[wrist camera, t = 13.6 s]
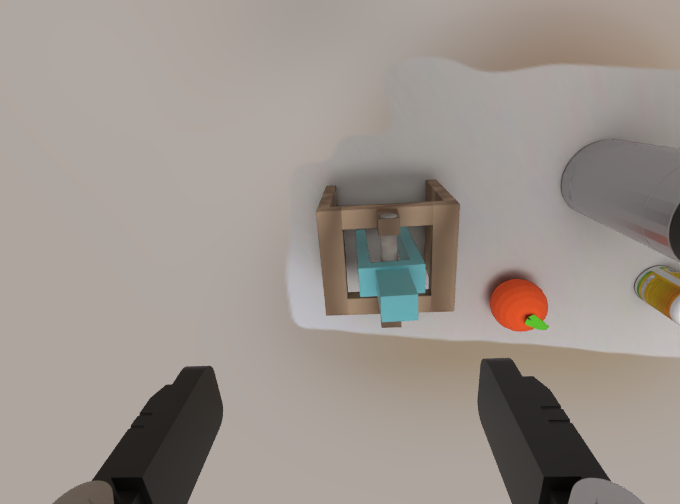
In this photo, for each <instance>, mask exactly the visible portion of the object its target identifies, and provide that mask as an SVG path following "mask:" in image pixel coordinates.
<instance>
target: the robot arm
mask: <svg viewBox="0 0 680 504" xmlns="http://www.w3.org/2000/svg"><path fill="white" fill-rule="evenodd" d="M561 189H562V194H563V197H564V199H565V201H566V202H567V204H568V205H569V206H570V207H571V208H573V209H574V210H576V211H578V212H580V213H582V214H584V215H586V216H588V217H590V218H592V219H593V220H595V221H597V222H599V223H601V224H603V225H605V226H607V227H609V228H611V229H613V230H615V231H618V232H620V233H622V234H624V235H626V236H628V237H630V238H632V239H634V240H636V241H638V242H640V243H642V244H644V245H646V246H648V247H650V248H652V249H654V250H656V251H658V252H660V253H662V254H664V255H666V256H668V257H670V258H672V259H674V260H676V261H678V262H680V149H676V148H669V147H662V146H655V145H648V144H642V143H635V142H628V141H621V140H613V139H612V140H602V141H598V142H595V143H593V144H591V145H588V146H587V147H585V148H584V149H582V150H581V151H579V152H578V153H577V154H576V155H575V156H574V157H573V158H572V160H571V161H570V162H569V164H568V165H567V167H566V169H565V171H564V174H563V178H562V185H561ZM478 411H479V416H480V420H481V423H482V426H483V429H484V431H485V434H486V436H487V439H488V442H489V444H490V447H491V449H492V452H493V455H494V457H495V460H496V463H497V465H498V468H499V471H500V473H501V476H502V478H503V481H504V484H505V486H506V488H507V492H508V494H509V497H510V499H511V502H512V504H644V503H643V502H642V501H641V500H640V499H639V498H638V497H636V496H635V495H634V494H633V493H631V492H630V491H628V490H626V489H625V488H623V487H622V486H620V485H618V484H615V483H613V482H611V480H610V479H609V478H608V476H607V475H606V473H605V472H604V470H603V469H602V467H601V466H600V464H599V463H598V462H597V460H596V458H595V457H594V455H593V454H592V452H591V451H590V449H589V448H588V446H587V445H586V443H585V442H584V440H583V439H582V437H581V436H580V434H579V433H578V431H577V430H576V428H575V427H574V425H573V424H572V423H570V419H569V418H568V416H567V415H566V413H565V412H564V410H563V409H561V406H560V404H559V403H558V401H557V400H556V398H555V397H554V395H553V394H552V392H551V391H550V389H548V388H547V387H546V386H544V385H543V384H542V383H541V382H540V381H538V380H537V379H536V378H535V377H533V376H529V377H522V375H521V374H520V372H519V370H518V368H517V367H516V365H515V364H514V362H513V360H511V359H510V358H494V359H482V361H481V366H480V378H479V390H478ZM222 417H223V404H222V400H221V396H220V392H219V389H218V384H217V380H216V377H215V373H214V370H213V368H212V367H211V366H190V367H185V368H183V369H182V371H181V372H180V374H179V375H178V376H177V378H176V380H175V381H174V383H173V384H172V385H165V386H164V387H163V388H162V389H161V390H159V391H158V392H157V393H156V394H155V395H154V396H152V397H151V398H150V399H149V401H148V402H147V404H146V405H145V406H144V408H143V409H142V411H141V412H140V416H137V418H136V419H135V420H134V422H133V423H132V425H131V428H130V429H128V430H127V432H126V433H125V435H124V436H123V437H122V439H121V440H120V442H119V443H118V445H117V446H116V447H115V449H114V450H113V452H112V453H111V455H110V456H109V457H108V459H107V460H106V462H105V463H104V464H103V466H102V467H101V469H100V470H99V471H98V473H97V474H96V476H95V477H94V478H93V480H92V481H90V482H86V483H83V484H81V485H78V486H76V487H74V488H73V489H71V490H69V491H68V492H66V493H65V494H63V495H62V496H61V497H60V498H58V499H57V500H56V501H55V502H54V503H53V504H187V503H188V500H189V498H190V496H191V493H192V491H193V489H194V486H195V484H196V482H197V479H198V477H199V475H200V472H201V470H202V468H203V465H204V463H205V461H206V458H207V456H208V454H209V451H210V449H211V447H212V444H213V442H214V440H215V437H216V435H217V433H218V430H219V428H220V426H221V422H222Z"/></svg>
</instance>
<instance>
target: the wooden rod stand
mask: <svg viewBox="0 0 680 504" xmlns="http://www.w3.org/2000/svg"><path fill="white" fill-rule="evenodd" d="M459 210H460V204H459V203H458V202H457V201H456V200H455V199H454V198H453V197H452V196H451V195H450V193H449V192H448V191H447V190H446V189H445V188H444V187H443V186H442V185H441V184H440V183H439V182H438V181H437V180H426V202H413V203H395V204H377V205H359V206H342V207H337V197H336V186H326V189H325V191H324V194H323V196H322V199H321V201H320V203H319V206H318V208H317V211H316V216H317V226H318V236H319V246H320V256H321V267H322V277H323V287H324V297H325V307H326V316H327V315H357V314H380V309H379V304H378V298H377V296H370V297H360V292H348V286H347V272H346V258H345V244H344V230H345V229H365V228H378V235H379V236H380V240H381V262H387V261H398V248H397V235H400V227H404V226H423V225H426V227H425V264H426V266H425V268H426V270H427V273H428V275H429V289H425V293H418V312H447V311H454V303H455V284H456V266H457V247H458V228H459ZM381 326H382V328H388V327H401V321H396V322H382V321H381Z"/></svg>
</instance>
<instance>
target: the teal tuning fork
mask: <svg viewBox="0 0 680 504" xmlns="http://www.w3.org/2000/svg"><path fill="white" fill-rule="evenodd" d="M355 236H356V250H357V263H358V276H359V288H360V297H370V296H377V298H378V304H379V309H380V315H381V321H382V322H396V321H412V320H418V293H425V266H426V264H425V262H424V260H423V258H422V256H421V254H420V252H419V250H418V248H417V246H416V244H415V242H414V240H413V238H412V236H411V234H410V232H409V230H408V229H407V227H406V226H405V227H400V235H397V248H398V254H399V257H400V260H401V261H387V262H372V263H370V257H369V251H368V245H367V239H366V233H365V229H364V230H355Z"/></svg>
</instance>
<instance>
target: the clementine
mask: <svg viewBox="0 0 680 504" xmlns="http://www.w3.org/2000/svg"><path fill="white" fill-rule="evenodd" d="M490 307H491V311H492V314H493V316H494V317H495V319H496V320H497V321H498V322H499V323H500V324H501V325H502V326H504V327H506V328H508V329H511V330H513V331H528V330H532V329H534V328H535V329H540V330H546V329H547V328H548V327H549V326H548V325H547V324H545V323H544V322H543V320H544V319H545V317H546V315H547V312H548V303H547V298H546V296H545V295H544V293H543V292H542V290H541V289H540V288H539V287H538V286H537V285H535V284H534V283H532V282H529V281H527V280H521V279H511V280H508V281H505V282H503V283H501V284H500V285H499V286H498V287H497V288H496V289H495V290H494V292H493V293H492V296H491V300H490Z"/></svg>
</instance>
